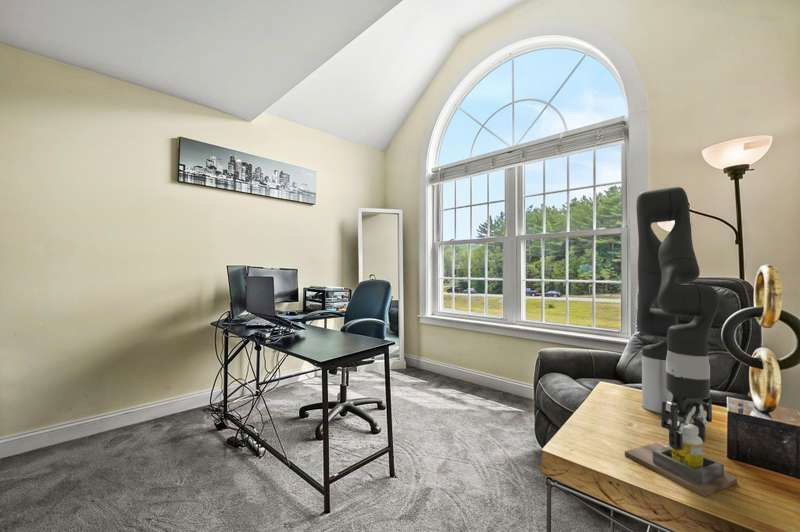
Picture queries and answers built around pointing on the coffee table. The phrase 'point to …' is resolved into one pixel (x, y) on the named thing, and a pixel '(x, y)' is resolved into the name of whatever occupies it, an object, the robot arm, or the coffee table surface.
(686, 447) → the supplement bottle
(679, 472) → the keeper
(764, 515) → the coffee table surface
